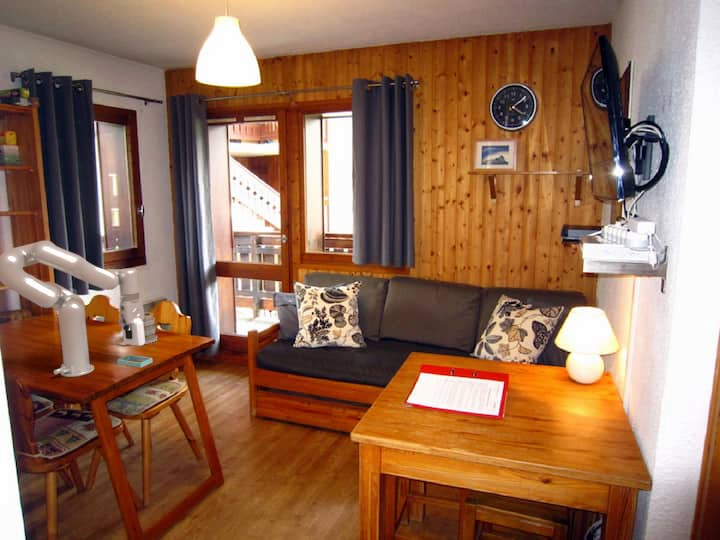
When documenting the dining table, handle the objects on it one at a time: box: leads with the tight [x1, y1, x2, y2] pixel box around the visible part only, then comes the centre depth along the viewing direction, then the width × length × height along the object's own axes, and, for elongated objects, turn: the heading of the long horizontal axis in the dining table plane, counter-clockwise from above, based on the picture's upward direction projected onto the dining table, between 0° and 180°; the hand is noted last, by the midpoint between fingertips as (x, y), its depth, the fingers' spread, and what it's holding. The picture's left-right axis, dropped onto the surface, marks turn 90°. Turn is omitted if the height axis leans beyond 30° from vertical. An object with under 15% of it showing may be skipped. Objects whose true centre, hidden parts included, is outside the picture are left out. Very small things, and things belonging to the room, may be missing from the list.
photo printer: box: [121, 318, 145, 347], centre depth 226 cm, size 10×4×12 cm, turn 66°
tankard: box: [117, 311, 159, 345], centre depth 255 cm, size 20×13×15 cm, turn 152°
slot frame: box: [117, 354, 153, 369], centre depth 228 cm, size 7×13×2 cm, turn 70°
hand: (133, 336), depth 226 cm, fingers closed on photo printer, 4 cm apart
